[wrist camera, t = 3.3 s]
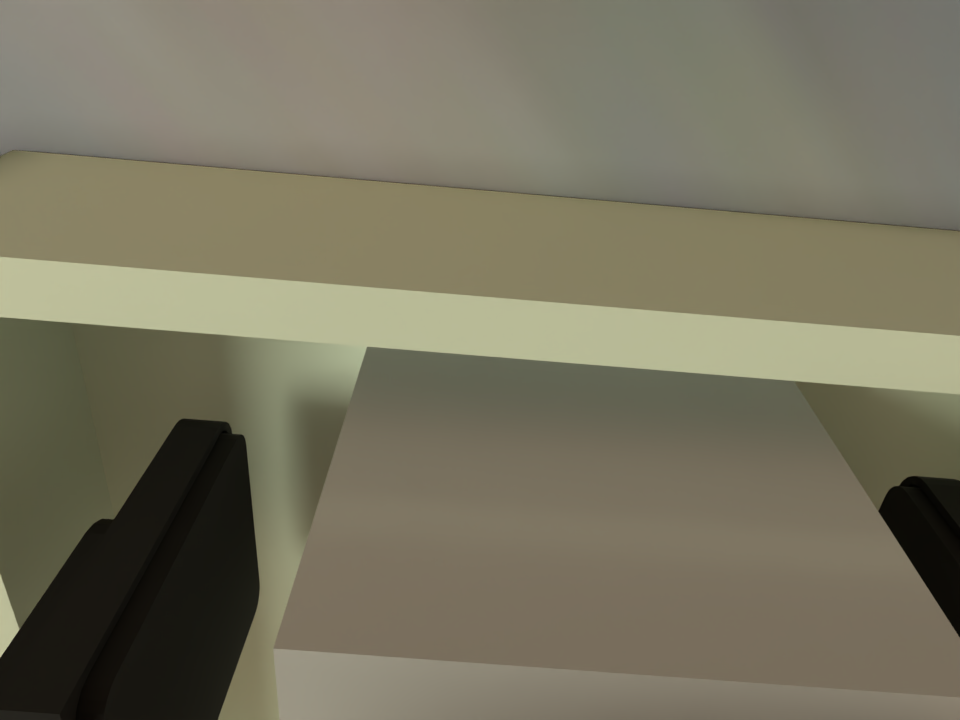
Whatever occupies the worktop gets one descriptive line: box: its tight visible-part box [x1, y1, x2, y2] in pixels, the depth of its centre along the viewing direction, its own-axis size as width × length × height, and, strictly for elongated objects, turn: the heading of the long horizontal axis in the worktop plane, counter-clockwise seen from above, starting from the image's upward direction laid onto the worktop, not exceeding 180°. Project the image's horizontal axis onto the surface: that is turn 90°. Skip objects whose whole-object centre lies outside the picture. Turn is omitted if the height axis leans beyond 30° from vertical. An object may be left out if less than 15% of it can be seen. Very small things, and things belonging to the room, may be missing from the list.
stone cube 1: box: [273, 347, 960, 720], centre depth 8 cm, size 5×5×5 cm
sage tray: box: [0, 150, 960, 720], centre depth 12 cm, size 16×14×3 cm
